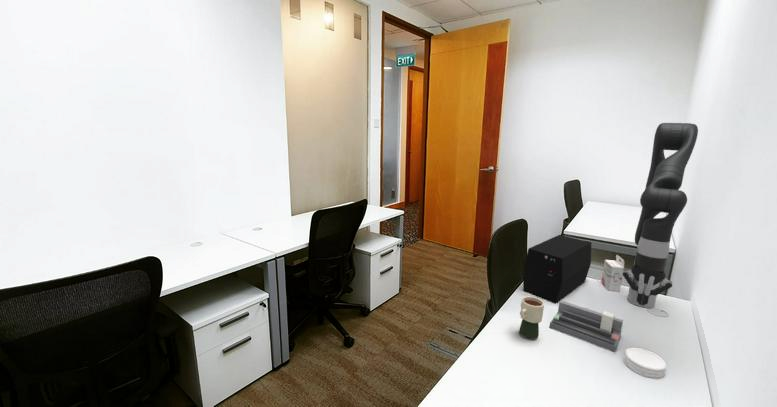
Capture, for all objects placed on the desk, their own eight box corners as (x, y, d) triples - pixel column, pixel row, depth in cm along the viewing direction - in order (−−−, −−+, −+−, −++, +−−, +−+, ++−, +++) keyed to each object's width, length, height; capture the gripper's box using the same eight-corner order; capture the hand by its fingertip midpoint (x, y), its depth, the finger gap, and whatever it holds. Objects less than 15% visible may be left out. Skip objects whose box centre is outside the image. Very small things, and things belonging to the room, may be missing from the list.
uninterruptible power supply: (587, 283, 158) (594, 242, 153) (557, 306, 136) (563, 260, 132) (552, 271, 170) (557, 233, 165) (518, 291, 148) (523, 248, 144)
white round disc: (647, 356, 107) (649, 346, 106) (673, 379, 97) (675, 369, 96) (616, 356, 107) (617, 346, 106) (639, 379, 97) (641, 368, 96)
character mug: (528, 325, 122) (533, 292, 119) (547, 335, 116) (552, 301, 113) (509, 334, 116) (513, 300, 113) (527, 346, 110) (532, 310, 107)
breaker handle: (600, 329, 117) (604, 310, 115) (610, 332, 115) (614, 314, 113) (599, 332, 115) (602, 314, 113) (609, 336, 113) (613, 317, 111)
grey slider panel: (558, 314, 130) (560, 300, 129) (620, 335, 117) (623, 320, 116) (549, 327, 121) (551, 312, 120) (614, 352, 108) (618, 335, 107)
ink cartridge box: (600, 282, 159) (605, 253, 155) (611, 283, 158) (617, 254, 154) (607, 290, 150) (613, 260, 147) (620, 292, 149) (626, 261, 146)
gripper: (680, 255, 101) (668, 307, 105) (627, 244, 110) (618, 293, 114) (680, 262, 96) (667, 316, 100) (624, 250, 104) (615, 301, 108)
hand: (641, 304), depth 107 cm, fingers closed
